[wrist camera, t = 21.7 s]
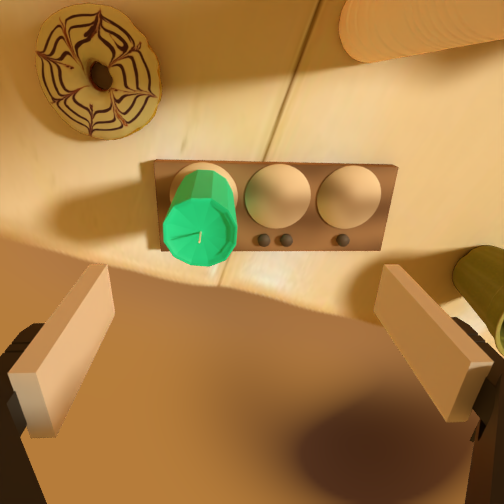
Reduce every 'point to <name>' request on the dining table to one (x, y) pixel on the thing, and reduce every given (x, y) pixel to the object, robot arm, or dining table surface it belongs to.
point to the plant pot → (484, 287)
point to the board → (294, 202)
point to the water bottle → (416, 26)
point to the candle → (201, 220)
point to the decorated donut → (82, 60)
